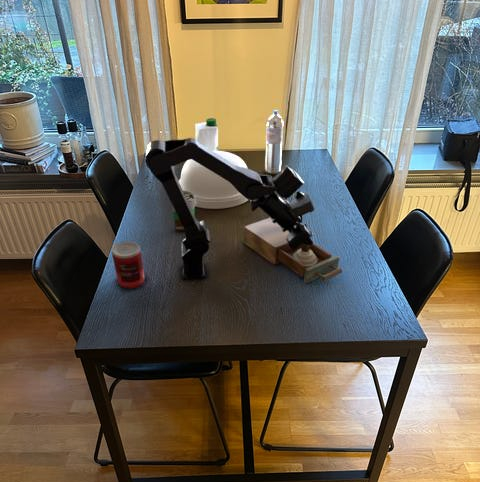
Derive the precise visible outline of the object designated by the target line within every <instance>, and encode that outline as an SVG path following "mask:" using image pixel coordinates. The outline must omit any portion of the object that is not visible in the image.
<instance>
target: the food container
mask: <svg viewBox="0 0 480 482" xmlns="http://www.w3.org/2000/svg"><path fill="white" fill-rule="evenodd" d="M183 192H184V194H185V196H186V199H187V201H188V203H189V205H190V207H191V209H192V212H193V214H194V215H195V207H196V206H195V205H196V199H195V196H194V195H193V194H192V193H191V192H188V191H183ZM171 206H172V207H171V210H172V211H171V212H172V214H173V221H174V228H175V232H185V231H184V228H183V226H182V223H181V221H180V219H179V217H178V215H177V213H176V211H175V209H174V207H173V205H172V204H171Z"/></svg>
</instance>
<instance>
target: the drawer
mask: <svg viewBox="0 0 480 482" xmlns="http://www.w3.org/2000/svg"><path fill="white" fill-rule="evenodd" d="M301 247H302V244H301V245H299V246H298V247H297V248H296V249H292V248H291V247H290V246H289V245H286V246H284V247H281V248H279V249H277V260H279V261H280V263H281V264H283V265H284V266H286V267H287V268H288V269H290V270H291V271H293V272H294V273H295V274H297V275H299V276H300V277H302V278H303V282H304V283H306V284H308V283H310V282H313V281H315V280H316V279H319V278H320V279H321V281H322V282H325V281H328V280H330V279H331V278H334V277H336V276H338V275H340V274H342V273H343V269H342V268H340V267H339V264H340V263H339V261H340V256H339V255H338V254H337V255H334V256H332V253H330V252H329V251H327V250H325V249H323V247H320V246H319V245H317V244H316V243H314V242H313V244H312V245H310V250H312V252H313V253H314V254H315V256H316V257H317V259H318V261H317V264H315V265H313V266H311V267H308V268H306V265H304V264H303V263H301V262H300V261H298V260H297V259H295V258H294V257H292V255H293V254H294V253H295V252H296V251H297V250H299V249H301Z"/></svg>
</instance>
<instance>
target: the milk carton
mask: <svg viewBox="0 0 480 482" xmlns="http://www.w3.org/2000/svg"><path fill="white" fill-rule="evenodd" d="M194 127H195V139H196V140H197V141H198V142H199V143H201V144H202V145H204V146H205V147H207V148H208V149H210V150H212V151H219V127H218V124H217V119H216V118H214V117H211V118H210V117H209V118H206V122H200V123H195V124H194Z"/></svg>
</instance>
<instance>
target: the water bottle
mask: <svg viewBox="0 0 480 482" xmlns="http://www.w3.org/2000/svg"><path fill="white" fill-rule="evenodd" d="M272 113H273V114H272V115H270V116H269V117H268V119H267V120H266V133H265V134H266V135H265V152H264V153H265V154H264V172H265V173H266V175H271V176H272V175H273V176H274V175H277V174H278V173H279V172H280V171H281V170H282V155H283V151H282V150H283V135H284V126H285V122H284V119H283V118H282V116H281V115H280V114H279V110H278V109H274V110H273V112H272Z"/></svg>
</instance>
